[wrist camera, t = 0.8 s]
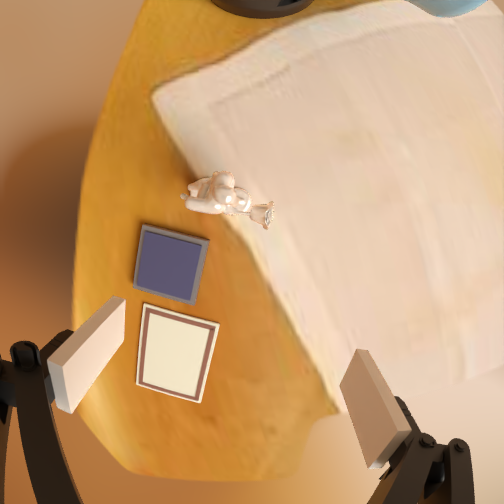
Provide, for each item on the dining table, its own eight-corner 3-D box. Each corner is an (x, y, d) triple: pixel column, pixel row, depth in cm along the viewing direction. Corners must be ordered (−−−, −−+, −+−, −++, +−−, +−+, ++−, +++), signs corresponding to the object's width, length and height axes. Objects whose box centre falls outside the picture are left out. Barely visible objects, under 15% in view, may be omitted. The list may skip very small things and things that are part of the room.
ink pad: (145, 223, 34) (141, 225, 32) (209, 239, 34) (207, 242, 33) (135, 285, 36) (131, 288, 34) (195, 302, 36) (193, 306, 35)
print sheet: (144, 302, 36) (143, 303, 36) (220, 323, 37) (219, 324, 36) (136, 383, 39) (135, 384, 39) (200, 402, 40) (200, 403, 39)
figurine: (191, 170, 32) (158, 165, 21) (273, 178, 33) (284, 175, 21) (187, 212, 33) (154, 229, 22) (268, 220, 34) (276, 241, 22)
